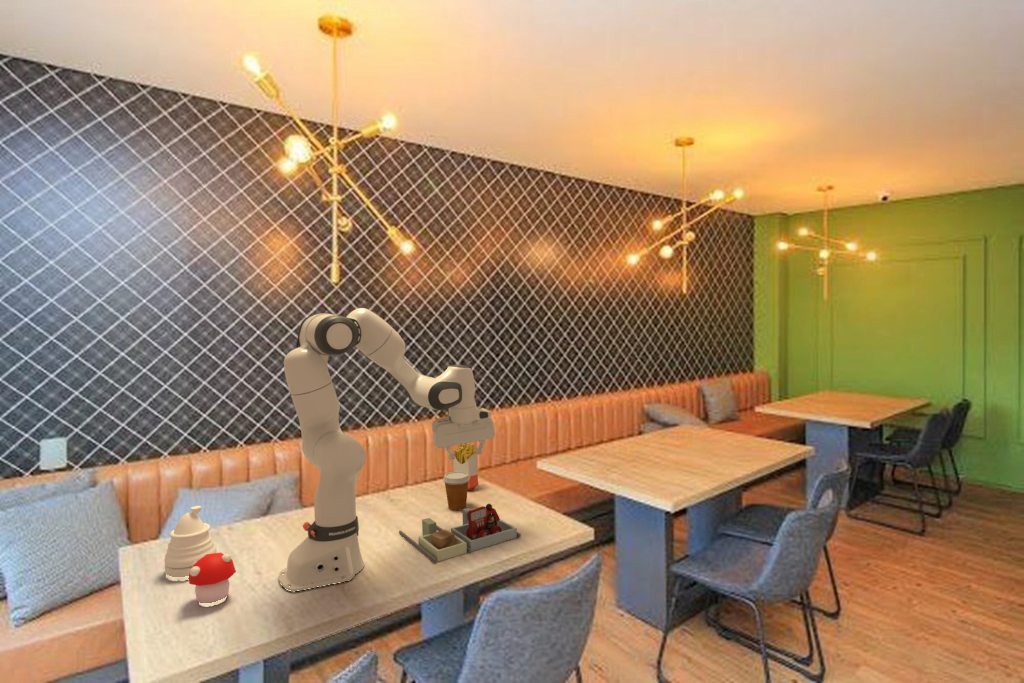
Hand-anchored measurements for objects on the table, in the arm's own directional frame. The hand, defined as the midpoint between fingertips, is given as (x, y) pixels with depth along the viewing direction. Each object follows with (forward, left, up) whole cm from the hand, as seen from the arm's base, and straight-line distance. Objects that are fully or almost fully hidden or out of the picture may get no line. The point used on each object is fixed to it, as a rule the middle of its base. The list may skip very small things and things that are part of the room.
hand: (465, 456), depth 183 cm
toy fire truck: (+1, -9, -25) cm, 26 cm away
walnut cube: (-13, -9, -25) cm, 29 cm away
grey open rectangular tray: (+1, -6, -24) cm, 25 cm away
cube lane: (-13, -6, -24) cm, 29 cm away
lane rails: (-5, -3, -24) cm, 25 cm away
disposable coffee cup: (+7, +20, -25) cm, 33 cm away
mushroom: (-74, 0, -25) cm, 78 cm away
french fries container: (+20, +37, -25) cm, 49 cm away
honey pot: (-77, +22, -25) cm, 84 cm away
